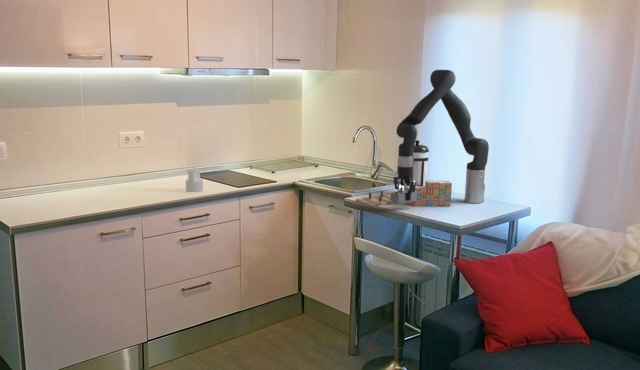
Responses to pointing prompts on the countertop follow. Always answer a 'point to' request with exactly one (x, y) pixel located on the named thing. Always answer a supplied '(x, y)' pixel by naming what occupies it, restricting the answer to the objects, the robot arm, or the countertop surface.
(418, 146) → the coffee press
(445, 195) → the stack of blocks
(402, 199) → the grey rectangular block
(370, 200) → the pin tray
